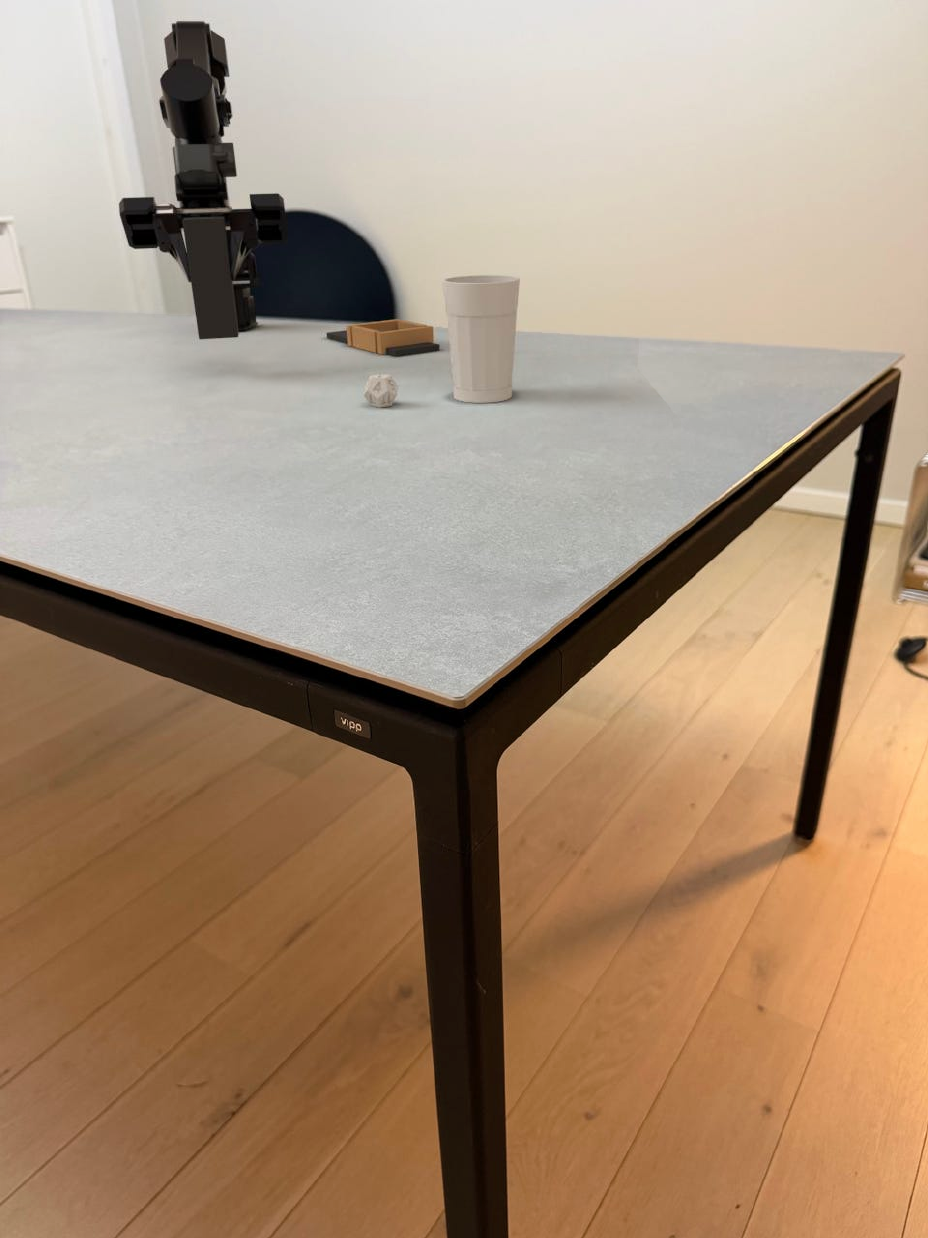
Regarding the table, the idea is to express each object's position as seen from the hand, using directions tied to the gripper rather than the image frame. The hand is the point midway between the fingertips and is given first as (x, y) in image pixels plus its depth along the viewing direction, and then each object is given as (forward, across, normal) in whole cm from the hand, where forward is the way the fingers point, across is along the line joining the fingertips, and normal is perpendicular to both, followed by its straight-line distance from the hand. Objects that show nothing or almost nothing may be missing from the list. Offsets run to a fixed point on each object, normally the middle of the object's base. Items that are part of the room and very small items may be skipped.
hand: (211, 278), depth 107 cm
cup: (+22, +28, -5) cm, 36 cm away
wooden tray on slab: (-5, +21, +21) cm, 30 cm away
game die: (+22, +17, -6) cm, 28 cm away
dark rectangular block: (+4, 0, +6) cm, 7 cm away
